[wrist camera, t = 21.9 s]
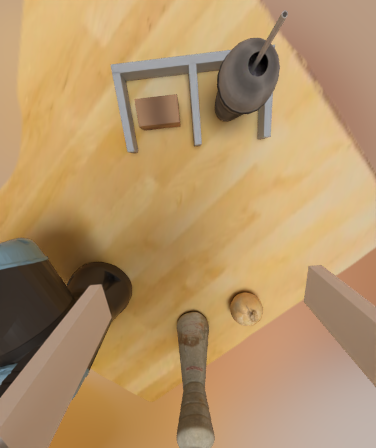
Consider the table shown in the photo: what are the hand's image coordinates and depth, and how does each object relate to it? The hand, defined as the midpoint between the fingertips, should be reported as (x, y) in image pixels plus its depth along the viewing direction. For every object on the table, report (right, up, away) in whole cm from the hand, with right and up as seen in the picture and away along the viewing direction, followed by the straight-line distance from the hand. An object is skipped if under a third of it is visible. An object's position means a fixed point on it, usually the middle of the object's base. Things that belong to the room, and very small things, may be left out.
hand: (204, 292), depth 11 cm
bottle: (0, -23, +38) cm, 45 cm away
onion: (+14, -16, +36) cm, 42 cm away
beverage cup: (+6, +26, +22) cm, 34 cm away
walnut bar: (-6, +25, +22) cm, 34 cm away
